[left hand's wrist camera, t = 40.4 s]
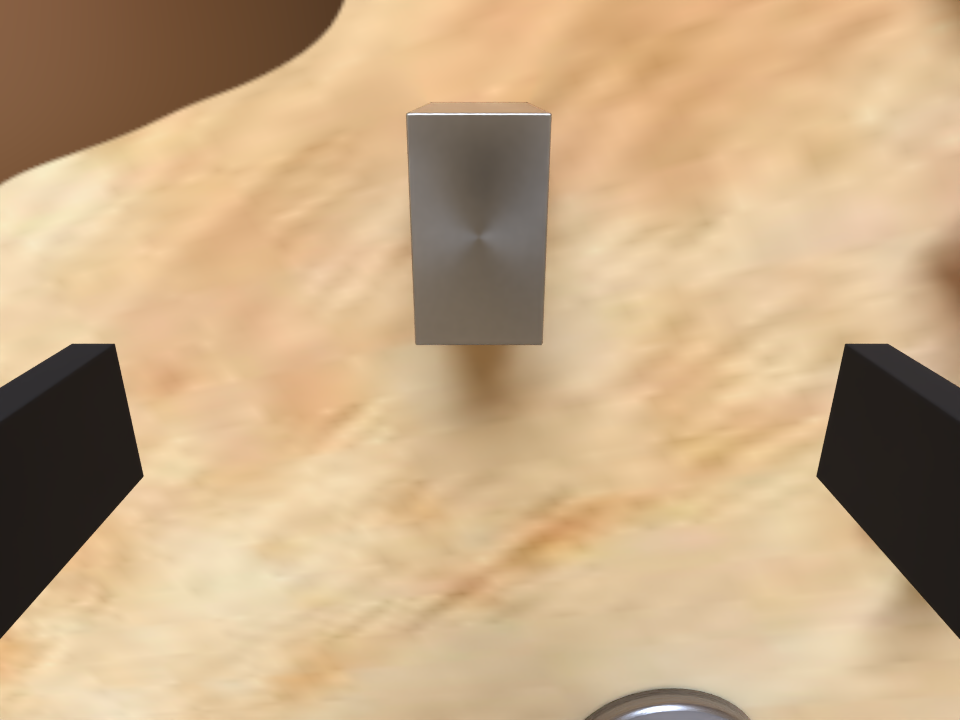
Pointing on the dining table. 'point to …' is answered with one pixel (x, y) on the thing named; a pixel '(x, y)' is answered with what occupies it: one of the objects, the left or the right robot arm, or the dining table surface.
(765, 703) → the dining table surface
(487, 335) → the block
